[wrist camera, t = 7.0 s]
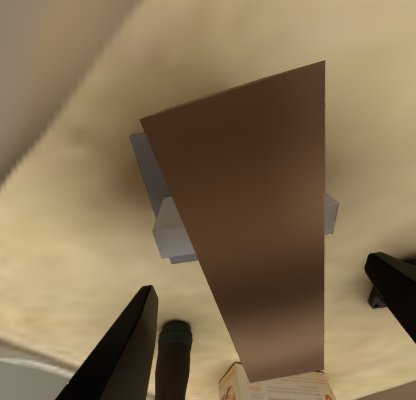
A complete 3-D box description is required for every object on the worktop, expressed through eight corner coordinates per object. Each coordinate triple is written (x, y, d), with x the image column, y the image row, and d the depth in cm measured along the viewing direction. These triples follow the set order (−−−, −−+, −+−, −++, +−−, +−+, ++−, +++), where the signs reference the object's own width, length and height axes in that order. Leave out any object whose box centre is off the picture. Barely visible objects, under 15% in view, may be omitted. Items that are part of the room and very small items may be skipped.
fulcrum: (305, 240, 17) (337, 283, 13) (172, 259, 18) (164, 307, 14) (320, 102, 12) (380, 105, 8) (131, 134, 12) (100, 152, 8)
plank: (291, 300, 14) (323, 369, 10) (237, 312, 14) (250, 383, 11) (264, 77, 7) (325, 60, 4) (165, 109, 8) (139, 119, 4)
